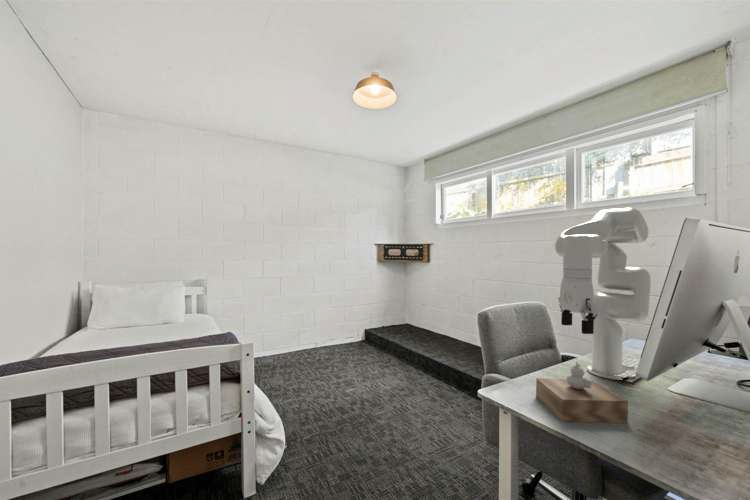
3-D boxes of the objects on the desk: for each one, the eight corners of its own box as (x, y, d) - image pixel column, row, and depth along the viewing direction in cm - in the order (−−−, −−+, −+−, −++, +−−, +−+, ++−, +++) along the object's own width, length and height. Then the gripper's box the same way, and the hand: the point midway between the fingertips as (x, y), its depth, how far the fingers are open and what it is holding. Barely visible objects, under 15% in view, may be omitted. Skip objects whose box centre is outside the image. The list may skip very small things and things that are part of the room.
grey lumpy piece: (571, 382, 96) (571, 357, 96) (595, 391, 90) (596, 364, 90) (562, 387, 93) (563, 360, 93) (587, 395, 87) (588, 367, 87)
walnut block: (592, 398, 98) (592, 379, 98) (627, 422, 84) (628, 401, 84) (536, 396, 99) (536, 378, 99) (562, 421, 85) (562, 399, 85)
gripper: (549, 272, 104) (548, 322, 104) (584, 277, 87) (583, 337, 87) (571, 272, 104) (570, 322, 104) (610, 277, 87) (609, 337, 87)
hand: (576, 329), depth 96 cm, fingers open, 9 cm apart
